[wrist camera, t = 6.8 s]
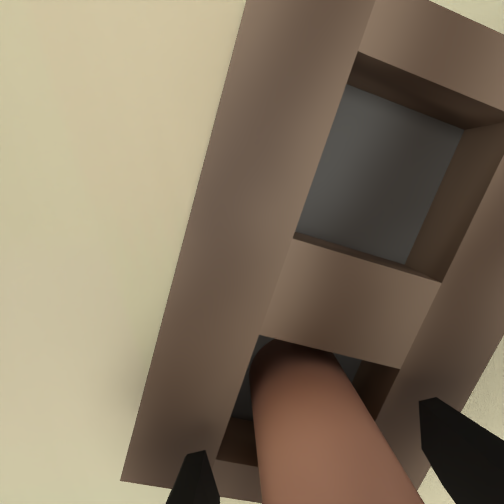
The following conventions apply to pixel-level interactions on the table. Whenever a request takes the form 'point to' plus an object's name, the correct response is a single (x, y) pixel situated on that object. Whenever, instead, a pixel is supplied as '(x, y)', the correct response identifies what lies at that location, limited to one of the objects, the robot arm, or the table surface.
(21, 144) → the table surface
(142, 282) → the table surface
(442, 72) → the peg block
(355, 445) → the pin
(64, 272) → the table surface
